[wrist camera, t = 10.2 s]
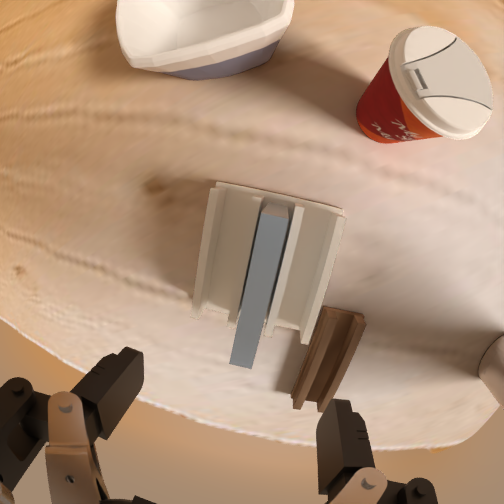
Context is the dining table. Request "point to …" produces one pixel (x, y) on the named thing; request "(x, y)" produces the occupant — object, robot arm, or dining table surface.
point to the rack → (290, 263)
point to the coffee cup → (426, 90)
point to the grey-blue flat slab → (259, 283)
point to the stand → (328, 357)
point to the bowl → (200, 35)
